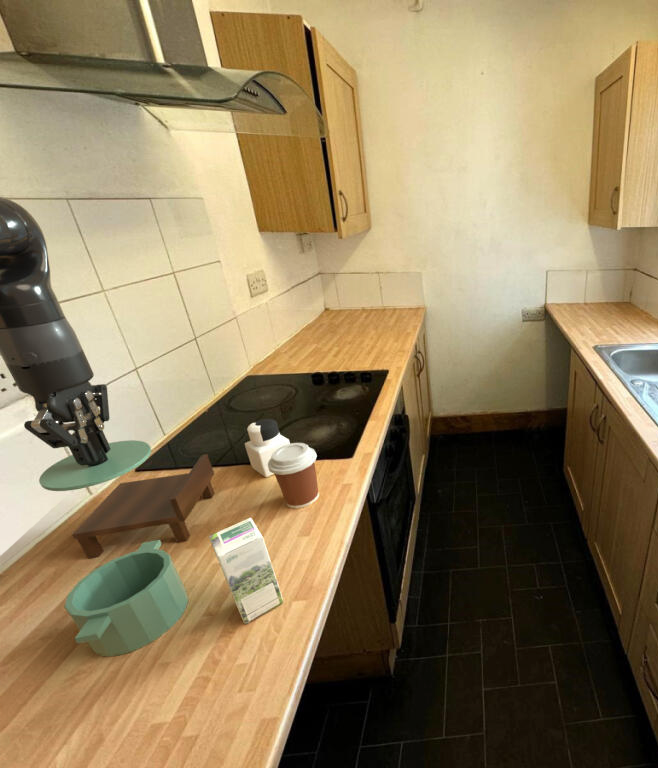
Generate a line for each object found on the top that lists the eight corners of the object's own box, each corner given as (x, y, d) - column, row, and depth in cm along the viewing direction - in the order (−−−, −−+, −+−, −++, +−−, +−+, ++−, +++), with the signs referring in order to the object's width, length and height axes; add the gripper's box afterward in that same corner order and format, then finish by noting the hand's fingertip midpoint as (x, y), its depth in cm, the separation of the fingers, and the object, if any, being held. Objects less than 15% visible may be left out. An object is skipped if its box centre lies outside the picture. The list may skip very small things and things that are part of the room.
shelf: (85, 560, 75) (60, 516, 71) (131, 506, 88) (112, 467, 84) (193, 540, 79) (175, 498, 75) (221, 491, 92) (207, 453, 88)
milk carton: (273, 581, 70) (250, 514, 64) (285, 603, 66) (262, 534, 61) (235, 602, 67) (207, 533, 61) (245, 627, 63) (216, 556, 57)
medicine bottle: (281, 454, 106) (269, 413, 101) (295, 464, 102) (284, 421, 97) (251, 468, 100) (237, 425, 95) (266, 478, 96) (252, 434, 92)
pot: (58, 686, 55) (27, 644, 52) (128, 582, 70) (107, 545, 67) (159, 662, 58) (136, 621, 55) (206, 567, 73) (190, 530, 70)
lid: (18, 501, 58) (-7, 461, 55) (79, 452, 69) (61, 417, 67) (125, 486, 61) (107, 447, 58) (167, 441, 72) (154, 407, 70)
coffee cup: (302, 517, 85) (289, 468, 80) (269, 506, 88) (254, 459, 83) (334, 490, 92) (324, 444, 88) (302, 481, 95) (291, 436, 90)
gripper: (48, 340, 63) (95, 438, 70) (-36, 374, 50) (31, 489, 58) (107, 336, 65) (147, 432, 72) (39, 368, 52) (96, 481, 59)
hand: (95, 457), depth 64 cm, fingers closed on lid, 2 cm apart
